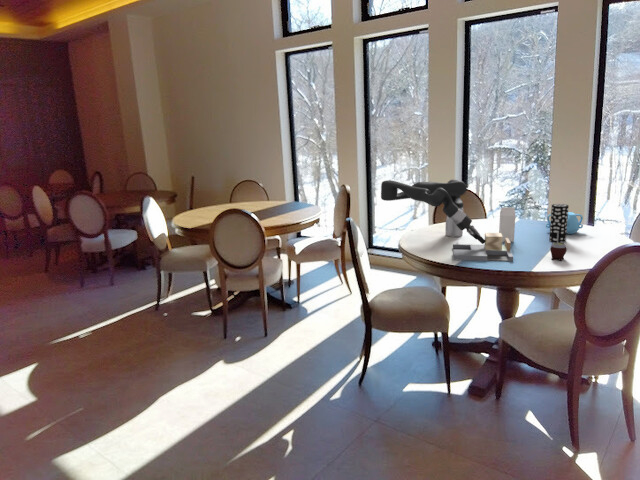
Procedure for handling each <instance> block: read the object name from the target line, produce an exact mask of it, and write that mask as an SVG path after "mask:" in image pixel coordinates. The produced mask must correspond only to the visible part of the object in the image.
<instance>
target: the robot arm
mask: <svg viewBox="0 0 640 480" xmlns="http://www.w3.org/2000/svg"><path fill="white" fill-rule="evenodd" d="M380 185H381V187H380V198H381V200H383V201H390V202H391V201H398V200H399V201H401V200H406V199H408V200H409V199H412V200H413V201H417V202H424V203H426V204H427V205H429V206H431V207H434V208H435V207H439V206H441V204H443V208H442V212H443V213H444V214H445V216H446V219H445V233H444V234H445V236H448V237H453V238H458V237H459V238H460V237H463V231H464V230H466V232H467V234H469V235H470V236H471V237H473V238H474V240H478V242H480V243H481V245H485V238H483V236H481V234H480V232H479V231H478V230H477V229H476V228H475V226H474V225H473V224H472V223H473V219H472V218H471V217H469V216H468V215H467V214H466V212H465V211H464V202H463V201H462V199H461V196H463V195H464V194H465V193H466V192H467V189H468V187H467V184H466V183H465V182H464V181H463V180H458V179H456V178H455V179H450V180H449V181H447V182H437V181H418V182H415V183H414V184H412V185H408V184H406V183H403V182H400V181H395V180H383V181H382V182H381V184H380ZM398 190H399V191H401V192H399V191H398ZM471 224H472V225H471Z"/></svg>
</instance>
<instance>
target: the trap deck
mask: <svg viewBox="0 0 640 480" xmlns="http://www.w3.org/2000/svg"><path fill="white" fill-rule="evenodd" d="M511 244H512V243H511V242H510V241H509V239H508V238H505V242H504V244H502V250H486V249H485V244H468V243H467V244H464V243H462V244H461V243H453V244H452V258H453V259H452V260H453V261H472V260H473V261H477V262H478V261H482V262H483V261H484V262H513V261H514V256H513V254H512V251H511V246H512V245H511Z"/></svg>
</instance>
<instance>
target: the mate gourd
mask: <svg viewBox="0 0 640 480" xmlns="http://www.w3.org/2000/svg"><path fill="white" fill-rule="evenodd" d="M558 237H559V234H558V232H557V242H552V244H551V245H550V250H549V251H550V254H551V261H556V260H557V261H560V262H562V261H563V260H564V259H565V258H564V257H565V255H566V253H567V250H568V248H567V245H566V243H565V242H562V243H561V242H558Z"/></svg>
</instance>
